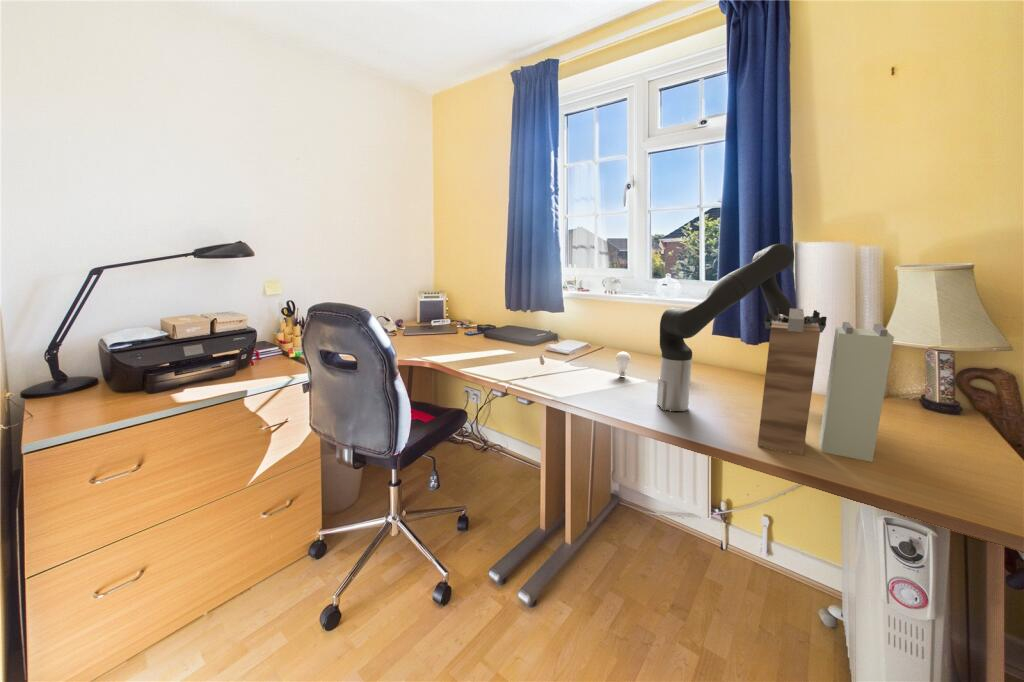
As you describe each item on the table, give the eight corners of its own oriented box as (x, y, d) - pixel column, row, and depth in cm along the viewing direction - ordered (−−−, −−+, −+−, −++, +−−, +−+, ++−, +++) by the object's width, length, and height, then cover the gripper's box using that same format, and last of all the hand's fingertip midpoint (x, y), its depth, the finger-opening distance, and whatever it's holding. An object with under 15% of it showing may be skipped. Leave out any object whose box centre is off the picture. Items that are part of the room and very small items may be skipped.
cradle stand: (872, 461, 102) (895, 330, 95) (821, 451, 107) (840, 327, 101) (866, 446, 110) (887, 324, 103) (819, 437, 115) (836, 321, 109)
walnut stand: (803, 455, 105) (820, 330, 99) (757, 446, 111) (771, 327, 104) (802, 441, 113) (818, 324, 107) (759, 432, 119) (772, 321, 112)
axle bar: (802, 332, 97) (804, 319, 97) (787, 330, 99) (789, 318, 98) (801, 319, 115) (802, 309, 115) (788, 319, 117) (789, 308, 116)
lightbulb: (617, 374, 178) (618, 349, 176) (632, 376, 175) (633, 351, 173) (612, 378, 173) (612, 352, 171) (626, 380, 170) (628, 354, 168)
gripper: (766, 320, 130) (766, 298, 117) (822, 324, 122) (830, 301, 109) (763, 343, 128) (763, 323, 115) (820, 348, 121) (827, 327, 108)
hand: (795, 312), depth 112 cm, fingers open, 8 cm apart
